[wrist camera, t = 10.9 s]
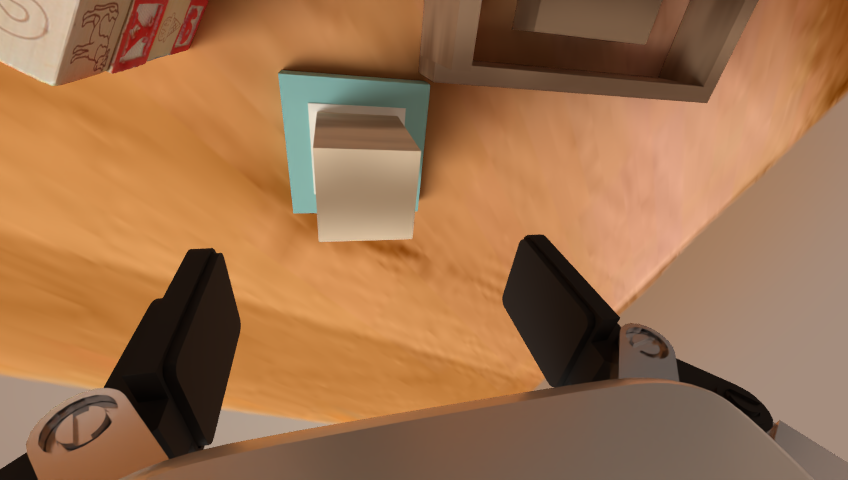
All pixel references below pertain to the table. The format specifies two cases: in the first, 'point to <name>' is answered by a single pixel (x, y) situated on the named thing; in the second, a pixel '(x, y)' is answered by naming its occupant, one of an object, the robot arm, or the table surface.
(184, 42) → the stack of blocks
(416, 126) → the teal picture frame
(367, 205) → the beech block
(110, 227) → the table surface
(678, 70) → the brown wooden tray
